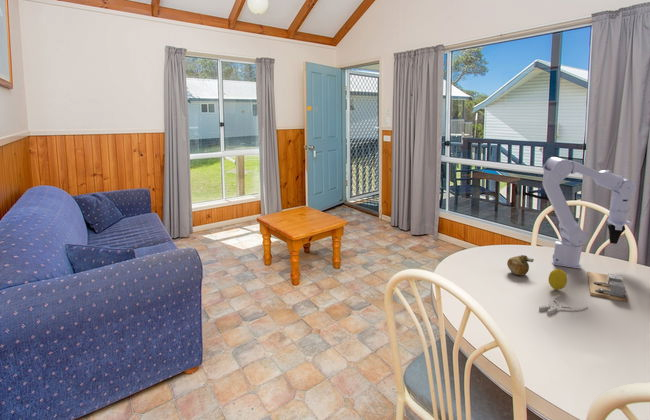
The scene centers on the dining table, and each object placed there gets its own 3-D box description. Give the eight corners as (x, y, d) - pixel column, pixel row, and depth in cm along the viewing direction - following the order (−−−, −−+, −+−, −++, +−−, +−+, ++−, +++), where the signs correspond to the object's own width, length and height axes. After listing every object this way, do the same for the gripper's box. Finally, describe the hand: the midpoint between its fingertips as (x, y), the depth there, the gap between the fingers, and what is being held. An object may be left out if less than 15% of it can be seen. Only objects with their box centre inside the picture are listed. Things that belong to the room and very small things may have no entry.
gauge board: (590, 295, 134) (591, 290, 134) (587, 274, 151) (587, 269, 150) (626, 301, 129) (627, 296, 129) (619, 279, 146) (620, 274, 145)
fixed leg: (598, 292, 133) (600, 283, 132) (597, 288, 136) (599, 279, 135) (623, 297, 129) (625, 287, 129) (621, 292, 133) (623, 283, 132)
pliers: (588, 304, 125) (559, 316, 119) (588, 309, 126) (558, 320, 119) (558, 292, 134) (529, 302, 127) (558, 296, 134) (528, 307, 128)
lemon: (559, 295, 134) (562, 273, 132) (543, 288, 139) (546, 267, 137) (568, 291, 137) (572, 269, 135) (553, 285, 142) (556, 264, 140)
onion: (517, 268, 157) (519, 249, 155) (533, 276, 149) (536, 256, 147) (501, 271, 155) (503, 251, 153) (517, 279, 147) (519, 259, 145)
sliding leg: (597, 285, 138) (598, 275, 138) (596, 281, 142) (597, 272, 141) (620, 289, 135) (622, 279, 134) (619, 285, 138) (621, 275, 137)
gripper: (634, 215, 145) (628, 250, 148) (629, 206, 157) (623, 239, 160) (611, 212, 148) (605, 247, 152) (607, 204, 160) (602, 236, 164)
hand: (613, 243), depth 156 cm, fingers closed
